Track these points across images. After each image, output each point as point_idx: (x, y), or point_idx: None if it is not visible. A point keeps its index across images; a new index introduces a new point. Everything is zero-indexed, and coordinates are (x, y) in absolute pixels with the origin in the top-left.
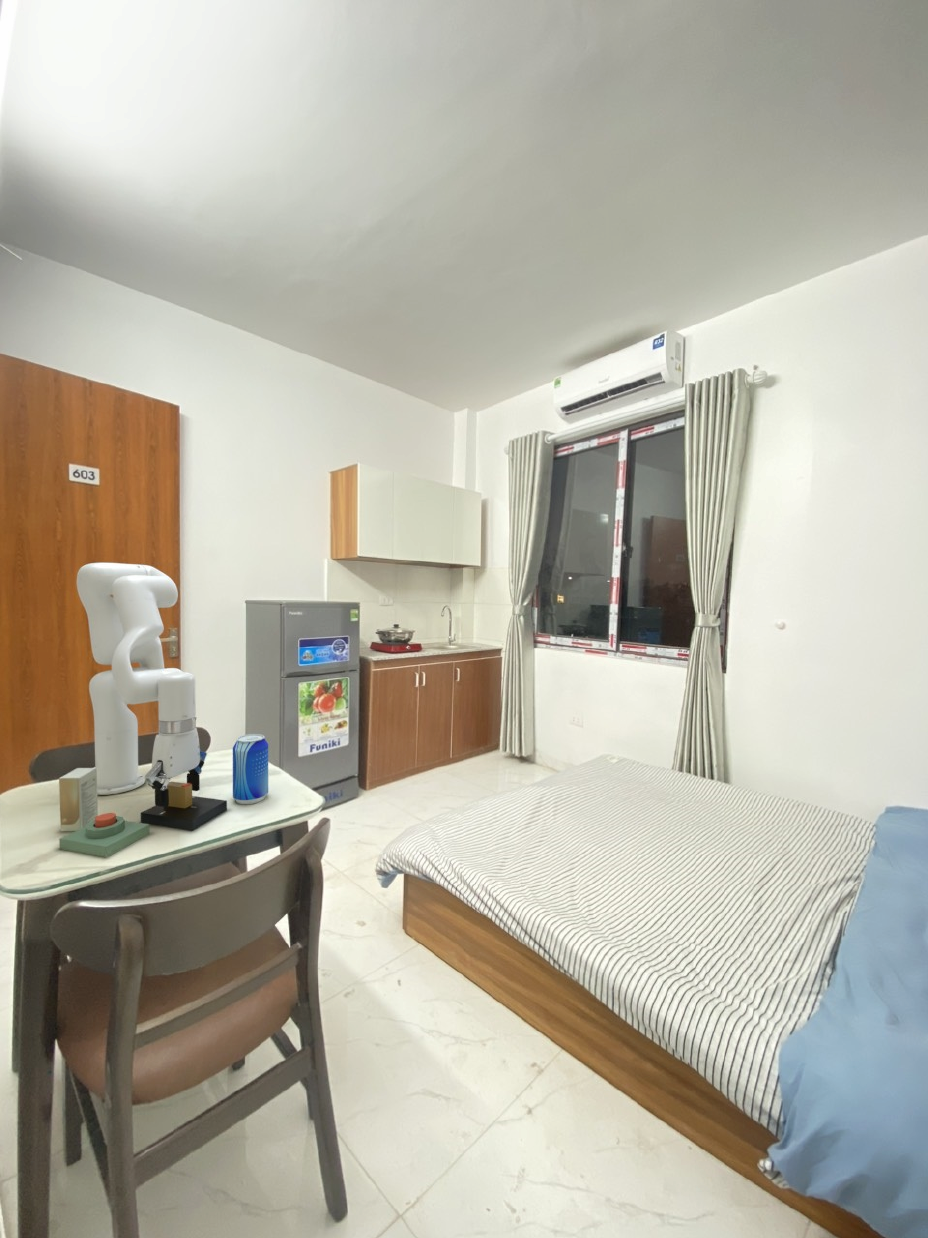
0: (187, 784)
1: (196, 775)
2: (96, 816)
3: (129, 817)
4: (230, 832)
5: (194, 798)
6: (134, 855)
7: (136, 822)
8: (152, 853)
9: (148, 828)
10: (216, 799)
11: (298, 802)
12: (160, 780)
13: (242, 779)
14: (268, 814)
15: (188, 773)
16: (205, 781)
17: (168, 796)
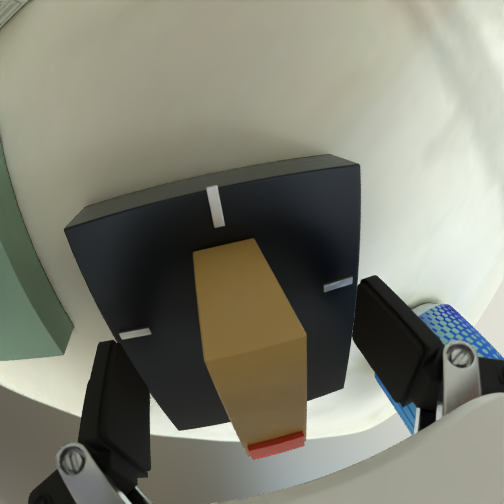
0: (281, 451)
1: (404, 400)
2: (16, 1)
3: (95, 80)
4: (228, 440)
5: (334, 296)
6: (26, 382)
7: (29, 302)
8: (60, 404)
9: (65, 343)
10: (345, 364)
11: (391, 405)
12: (120, 501)
13: (408, 425)
14: (331, 421)
15: (437, 349)
16: (488, 88)
17: (147, 434)
